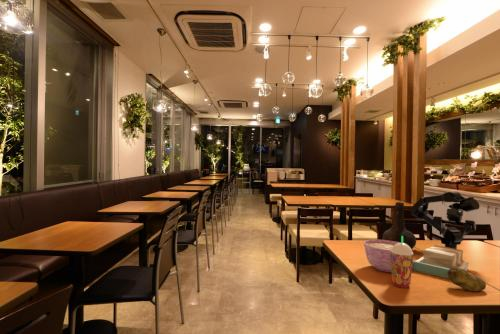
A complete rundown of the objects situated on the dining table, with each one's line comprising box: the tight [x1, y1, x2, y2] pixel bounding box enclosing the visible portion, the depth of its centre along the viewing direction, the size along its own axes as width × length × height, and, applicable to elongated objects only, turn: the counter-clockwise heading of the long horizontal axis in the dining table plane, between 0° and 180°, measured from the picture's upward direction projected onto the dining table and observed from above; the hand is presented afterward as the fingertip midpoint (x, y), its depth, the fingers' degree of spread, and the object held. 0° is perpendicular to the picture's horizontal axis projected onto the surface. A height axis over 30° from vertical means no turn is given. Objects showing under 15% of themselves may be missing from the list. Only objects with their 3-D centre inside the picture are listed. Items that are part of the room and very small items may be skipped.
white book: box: [412, 255, 469, 280], centre depth 146 cm, size 23×18×4 cm
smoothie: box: [391, 236, 415, 289], centre depth 125 cm, size 8×8×20 cm
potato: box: [447, 267, 487, 292], centre depth 122 cm, size 8×13×8 cm, turn 58°
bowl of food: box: [363, 239, 399, 273], centre depth 144 cm, size 20×20×12 cm
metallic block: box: [423, 244, 464, 269], centre depth 149 cm, size 16×12×8 cm
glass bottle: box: [381, 201, 417, 250], centre depth 178 cm, size 18×18×28 cm
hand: (450, 236), depth 158 cm, fingers open, 9 cm apart
